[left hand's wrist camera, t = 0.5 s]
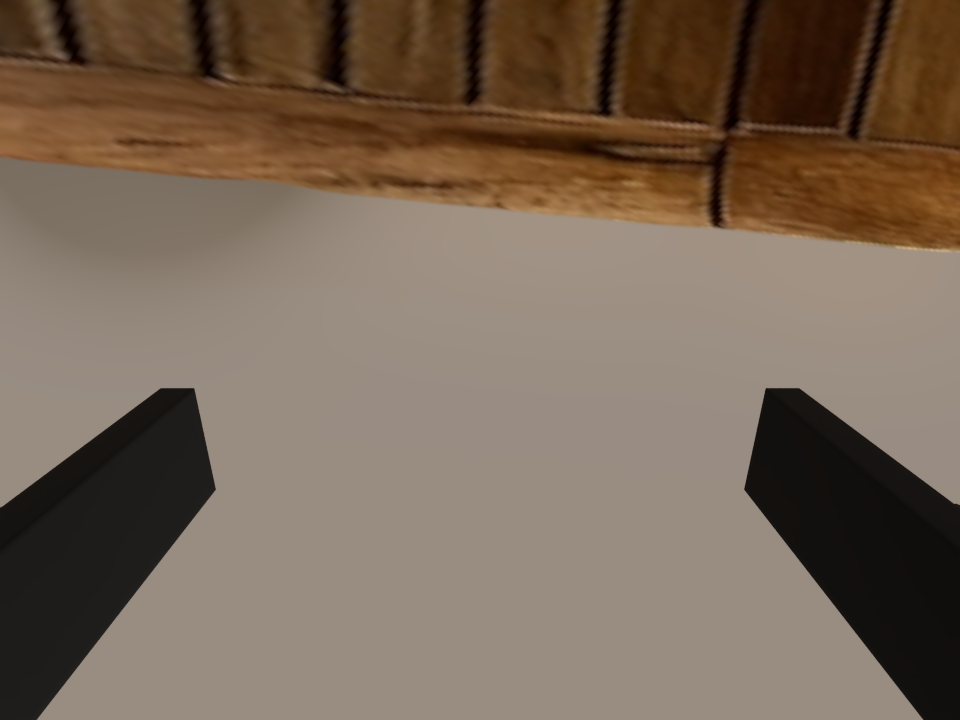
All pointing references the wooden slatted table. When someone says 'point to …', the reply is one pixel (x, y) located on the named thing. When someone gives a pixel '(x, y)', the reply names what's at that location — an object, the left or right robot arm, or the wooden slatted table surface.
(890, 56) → the wooden slatted table surface
